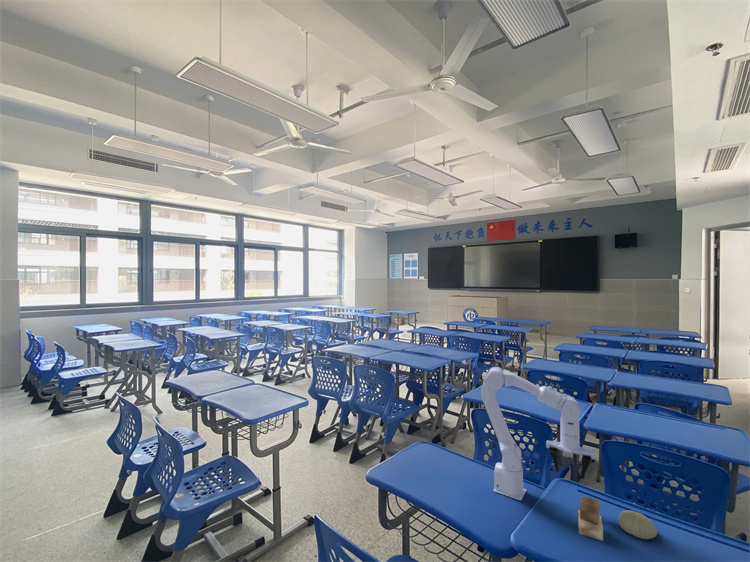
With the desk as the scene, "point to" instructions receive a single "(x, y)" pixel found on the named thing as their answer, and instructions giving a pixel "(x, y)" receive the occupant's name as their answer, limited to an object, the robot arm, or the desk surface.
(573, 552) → the desk surface
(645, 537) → the sea urchin shell
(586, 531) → the beech base
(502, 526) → the desk surface
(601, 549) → the desk surface
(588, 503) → the walnut block
